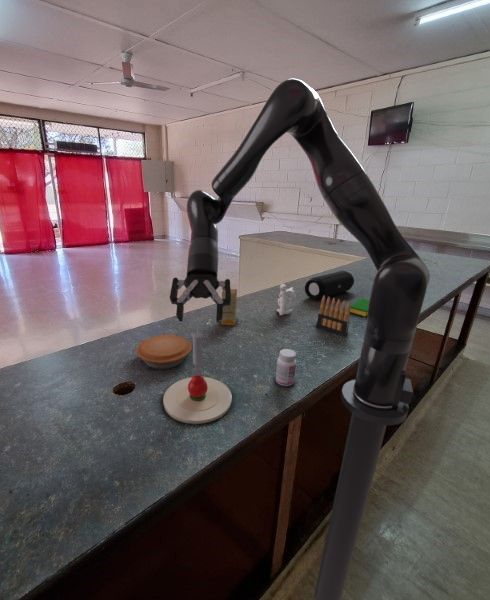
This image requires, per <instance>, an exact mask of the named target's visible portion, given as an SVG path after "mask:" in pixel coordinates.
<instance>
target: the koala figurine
mask: <svg viewBox="0 0 490 600" xmlns="http://www.w3.org/2000/svg"><path fill="white" fill-rule="evenodd" d="M279 290H280V292H279V294H278V296H279V298H277V305H278V306H279V308H277V309H276V311H277V312H278V314H279V316H283V315H290V313H292V312H293V309H290V307H291V306H292V300H293V299H295V298H296V297H297V295H296V292H295V290H294V287H293V286H291V287H289V288H287V284H284V283H281V284H280V286H279Z"/></svg>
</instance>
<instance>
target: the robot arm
mask: <svg viewBox="0 0 490 600" xmlns="http://www.w3.org/2000/svg"><path fill="white" fill-rule="evenodd" d="M286 133H287V134H289V135H290V136H291V137H292V138H293V139H294V140H295V141H296V142H297V144H298V146H299V147H300V148H301V149H302V151H303V152H304V153H305V155H306V156H307V158H308V160H309V162H310V165H311V168H312V171H313V175H314V180H315V182H316V186H317V188H318V191H319V193H320V194H321V196H322V198H323V200H324V202H325V203H326V205H327V206H328V209H329V210H330V211H331V213H332V215H333V216H334V217H335V219H336V220H337V221H338V222H339V224H340V225H341V226H343V228H344V229H346V231H347V232H348V233H350V235H352V236H353V238H355V240H357V241H358V243H360V244H361V245H362V247H363V249H365V251H366V253H367V254H368V256H369V257H370V260H371V262H372V263H373V265H374V267H375V269H376V271H377V272H376V273H375V275H374V277H373V281H372V286H371V289H370V290H371V291H370V296H369V300H370V301H369V307H368V312H367V316H366V318H367V322H366V327H365V331H364V336H363V341H362V346H361V351H360V357H359V361H358V366H357V372H356V376H355V379H356V380H355V379H354V380H355V384H354V388H353V395H354V397H355V398H356V399H357V400H358V401H359V402H360V403H362V404H363V405H365V406H367V407H369V408H372V409H376V410H382V411H386V410H396V411H397V409H398V405H399V402H402V403H404V404H408V405H411V403H412V402H414V401H415V400H416V394H415V392H414V390H413V385H412V380H411V379H410V378H407V375H408V374H407V365H408V361H409V357H410V354H411V350H412V347H413V342H414V338H415V335H416V332H417V328H418V323H419V319H420V315H421V312H422V308H423V304H424V301H425V297H426V293H427V289H428V286H429V283H430V281H431V280H430V279H431V277H430V275H431V274H430V270H429V268H428V266H427V264H426V263H425V262H424V260H423V259H422V258H421V257H420V255H419V254H418V253H417V252H416V251H415V249H414V248H413V247H412V246H411V244H410V243H409V242H408V241H407V239H406V238H405V237H404V236H403V234H402V233H401V232H400V230H399V228H398V227H397V226H396V224H395V221H394V220H393V218H392V216H391V213H390V211H389V210H388V208H387V205H386V204H385V203H384V201H383V199H382V197H381V195H380V194H379V192H378V190H377V188H376V186H375V185H374V183H373V182H372V179H371V178H370V177H369V175H368V174H367V172H366V170H365V169H364V168H363V166H362V165H361V164H360V162H359V160H358V159H357V158H356V156H355V155H354V154H353V153H352V151H351V150H350V149H349V147H348V146H347V145H346V144H345V143H344V141H343V140H342V139H341V138H340V136H339V134H338V132H337V131H336V129H335V128H334V125H333V123H332V121H331V119H330V117H329V115H328V114H327V111H326V109H325V105H324V104H323V102H322V99H321V98H320V96H319V94H318V93H317V92H316V90H315V89H313V88H312V87H310V86H309V85H308V84H307V83H305V82H304V81H303V80H300V79H299V78H298V79H297V78H288V79H285V80H284V81H282V82H280V83H279V84H278V85H277V86H276V87H275V88H274V90H273V91H272V93H271V94H270V95H269V97H268V99H267V100H266V102H265V104H264V105H263V107H262V109H261V110H260V112H259V114H258V116H257V117H256V119H255V121H254V122H253V124H252V125H251V127H250V129H249V130H248V132H247V133H246V134H245V136H244V138H243V140H242V141H241V143H240V144H239V146H238V147H237V149H236V150H235V151H234V152H233V154H232V155H231V157H230V158H229V159H228V160H227V161H226V163H224V165H223V166H222V168H221V169H220V170H219V171H218V172H217V174H216V175H215V176H214V177H213V179H212V180H211V188H212V191H213V193H214V194H216V196H217V197H218V198H217V197H215V196H213V195H212V194H209V193H208V192H206V191H205V190H202V189H197V190H194V191H192V193H190V195H189V196H188V198H187V201H186V214H187V220H188V221H189V222H188V224H189V228H190V242H189V243H190V245H189V248H188V254H187V255H188V257H187V267H186V276H185V278H184V279H179V278H178V277H173V278H172V281H171V288H170V294H169V300H170V301H169V302H170V303H171V305H176V312H175V313H176V314H175V315H176V319H178V321H179V322H184V311H185V306H184V305H186V303H187V302H189V301H190V300H191V299H192V298H194V299H199V298H200V299H208V298H210V300H212V301H213V302H214V303H215V304H216V318H215V320H216V323H220V321H221V320H222V318H223V307H224V306H229V305H230V304H231V290H230V289H231V280H230V279H229V278H226V279H225V280H219V278H218V276H219V275H218V274H219V273H218V272H219V271H218V270H219V248H218V247H219V246H218V245H219V244H218V243H219V229H218V227H217V224H219V223H221V222H222V221H223V219H224V218H225V216H226V214H227V211H228V210H229V207H230V206H231V204H232V203H233V200H234V199H235V197H236V196H237V195H238V194H239V193H240V192H241V191H242V190H243V189H244V188H245V186H246V185H248V183H249V182H250V181H251V179H253V177H254V175H255V173H256V171H257V169H258V168H259V165H260V163H261V161H262V159H263V157H264V156H265V154H266V153H267V152H268V150H269V149H270V148H271V147H272V146H273V145H274V143H276V142H277V141H278V140H279V139H280V138H282V136H284V135H285V134H286ZM183 286H184V287H185V289H184V291H183V292H182V294H181V295H180V296H179V297H178V295H179V290H180V289H182V287H183ZM219 287H221V291H223V290H225V299H222V296H220V294H219V293H218V291H217V290H218V289H219Z"/></svg>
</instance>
